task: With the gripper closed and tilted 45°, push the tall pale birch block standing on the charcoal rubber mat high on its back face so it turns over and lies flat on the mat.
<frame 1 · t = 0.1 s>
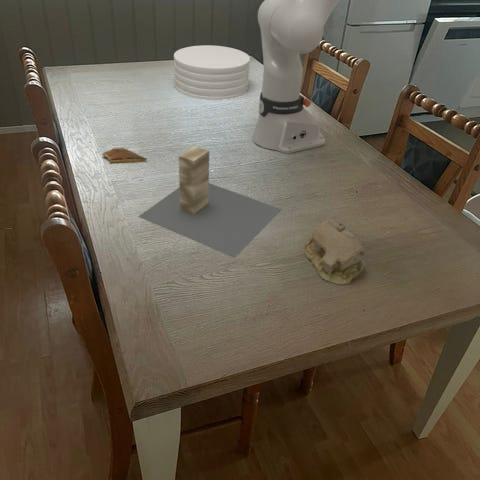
rubber mat: (211, 214, 110), on the table
shard: (125, 158, 131), on the table
ceramic model: (331, 262, 99), on the table
birch block: (194, 206, 111), resting on rubber mat
plate stack: (211, 87, 178), on the table
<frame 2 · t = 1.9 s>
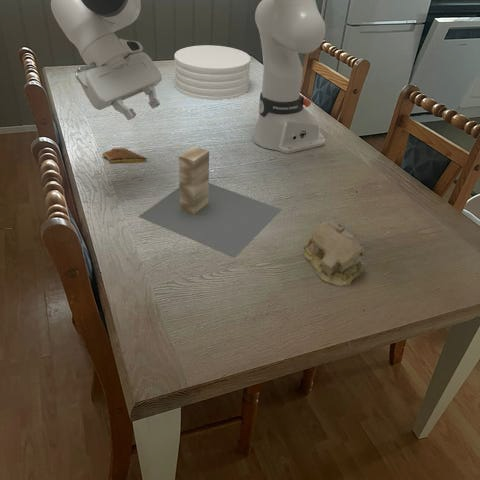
hand: (145, 112, 104), 21 cm above the table, tool tilted 45°, fingers open, 7 cm apart
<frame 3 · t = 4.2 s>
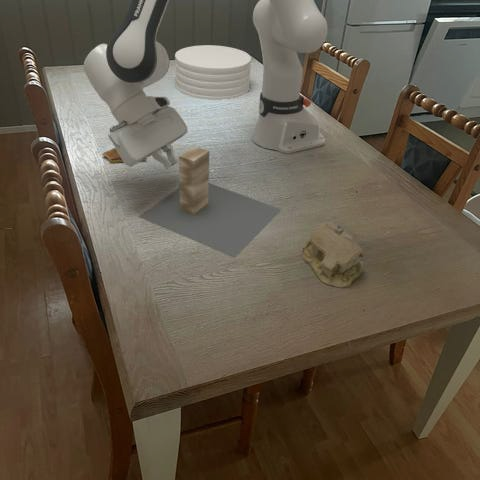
hand: (172, 165, 108), 9 cm above the table, tool tilted 45°, fingers closed
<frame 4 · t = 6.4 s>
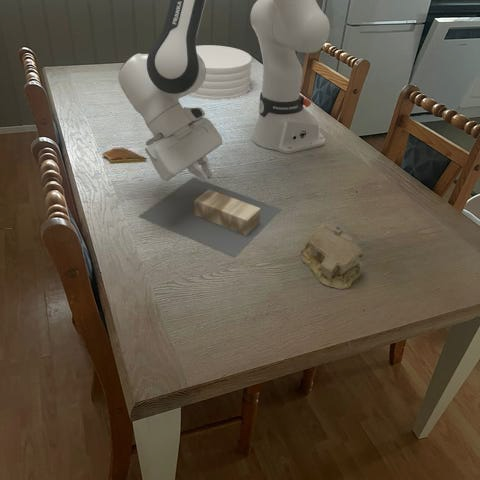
hand: (208, 178, 105), 9 cm above the table, tool tilted 45°, fingers closed
birch block: (201, 201, 109), point 2 cm above the table, tilted 90°, touching rubber mat
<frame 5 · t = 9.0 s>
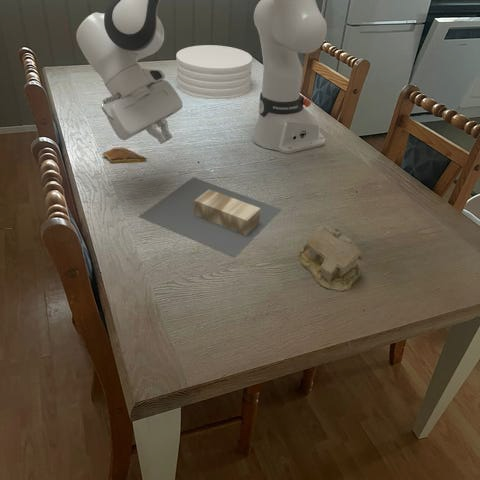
hand: (167, 140, 106), 15 cm above the table, tool tilted 45°, fingers closed
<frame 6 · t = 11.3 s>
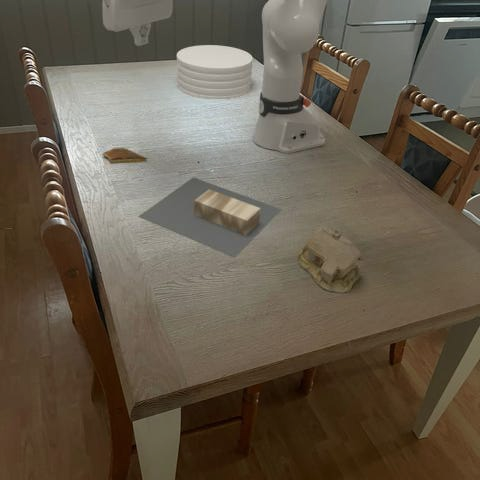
hand: (141, 44, 109), 31 cm above the table, tool pointing down, fingers closed
at the end: birch block tilted 90°; birch block touching rubber mat; birch block 2.8 cm from the rubber mat (horizontally) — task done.
